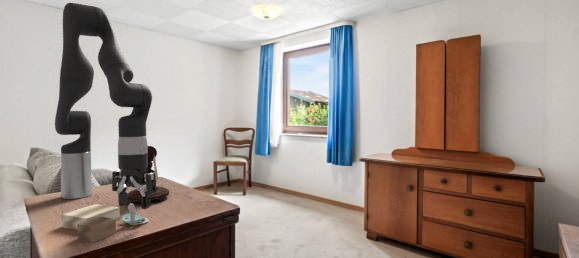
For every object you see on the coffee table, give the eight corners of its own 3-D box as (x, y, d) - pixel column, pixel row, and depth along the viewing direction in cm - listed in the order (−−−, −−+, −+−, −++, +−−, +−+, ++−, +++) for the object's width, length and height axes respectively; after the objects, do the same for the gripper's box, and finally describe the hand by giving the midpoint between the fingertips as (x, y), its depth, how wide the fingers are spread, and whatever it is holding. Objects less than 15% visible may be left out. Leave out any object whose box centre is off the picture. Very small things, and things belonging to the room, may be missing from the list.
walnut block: (77, 239, 72) (77, 224, 72) (100, 230, 78) (100, 216, 78) (93, 243, 70) (93, 227, 70) (116, 233, 76) (115, 219, 76)
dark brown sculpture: (167, 203, 102) (166, 148, 101) (121, 207, 97) (119, 149, 96) (171, 192, 116) (170, 144, 115) (130, 195, 111) (129, 145, 110)
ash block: (61, 228, 80) (61, 214, 79) (95, 216, 89) (95, 203, 89) (87, 233, 76) (86, 218, 76) (119, 220, 86) (119, 207, 86)
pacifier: (140, 218, 88) (119, 223, 83) (140, 198, 88) (120, 202, 83) (152, 223, 83) (132, 229, 79) (153, 202, 83) (132, 206, 78)
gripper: (102, 152, 80) (104, 208, 81) (141, 154, 76) (142, 213, 76) (125, 149, 87) (126, 201, 88) (162, 151, 83) (163, 205, 84)
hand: (134, 207), depth 82 cm, fingers open, 8 cm apart
